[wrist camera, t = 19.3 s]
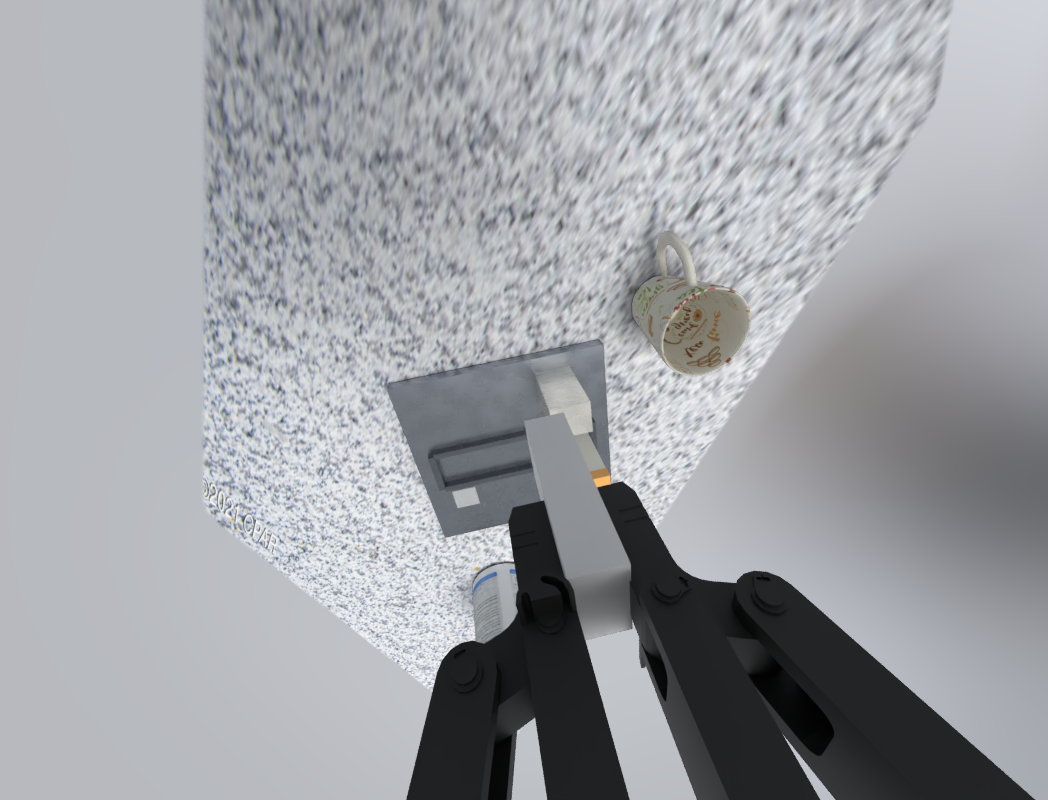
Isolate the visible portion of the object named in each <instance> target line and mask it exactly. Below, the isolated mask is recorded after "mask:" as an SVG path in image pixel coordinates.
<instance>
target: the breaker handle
mask: <svg viewBox="0 0 1048 800" xmlns="http://www.w3.org/2000/svg"><path fill="white" fill-rule="evenodd" d="M574 437H575V440H576V442H577V444H578V446H579V449H580V451H581V453H582V455H583V458H584V460H585V462H586V464H587V467H588V469H589V471H590V473H591V476H592V478H593V480H594V482H595V485H596V487H600V486H605V485H609V484H611V480H610V474H609V472H608V470H607V468H606V467H605V465H604V463H603V461H602V459H601V457H600V456H599V454H598V452H597V450H596V448H595V446H594V444H593V442H592V440H591V438H590V436H589V434H588V433H584V434H579V435H575V436H574Z"/></svg>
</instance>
